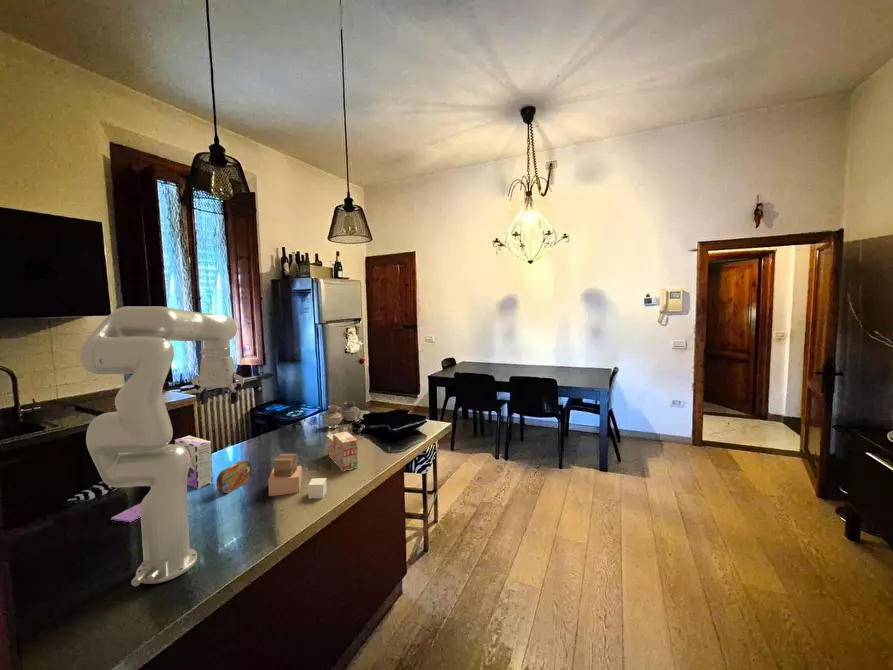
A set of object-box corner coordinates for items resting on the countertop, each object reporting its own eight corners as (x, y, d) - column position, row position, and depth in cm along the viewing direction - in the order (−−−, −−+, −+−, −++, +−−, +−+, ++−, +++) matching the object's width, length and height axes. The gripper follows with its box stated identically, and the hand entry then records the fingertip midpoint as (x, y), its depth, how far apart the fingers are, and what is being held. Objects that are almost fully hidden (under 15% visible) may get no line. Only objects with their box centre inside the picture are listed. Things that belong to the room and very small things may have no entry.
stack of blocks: (326, 455, 172) (325, 428, 171) (340, 452, 176) (339, 425, 175) (343, 472, 155) (342, 442, 154) (358, 468, 158) (357, 439, 157)
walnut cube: (291, 476, 137) (290, 460, 137) (274, 476, 137) (273, 460, 137) (297, 469, 143) (296, 453, 143) (280, 469, 143) (280, 454, 143)
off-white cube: (323, 498, 133) (322, 484, 133) (308, 498, 133) (308, 484, 133) (326, 491, 138) (326, 478, 138) (312, 492, 138) (312, 478, 138)
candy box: (175, 481, 146) (173, 439, 145) (192, 475, 151) (190, 434, 150) (197, 489, 140) (195, 445, 138) (213, 483, 145) (211, 440, 144)
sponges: (166, 505, 130) (166, 499, 130) (129, 526, 117) (129, 520, 117) (149, 503, 131) (149, 497, 131) (110, 523, 119) (110, 517, 119)
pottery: (319, 429, 209) (318, 407, 208) (347, 417, 232) (347, 397, 231) (335, 431, 205) (335, 409, 204) (363, 419, 228) (363, 399, 227)
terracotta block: (299, 493, 138) (298, 476, 137) (268, 496, 135) (268, 480, 134) (302, 480, 147) (301, 465, 147) (273, 484, 145) (273, 468, 144)
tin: (222, 497, 134) (221, 474, 133) (215, 496, 134) (213, 473, 134) (252, 478, 149) (251, 457, 148) (245, 478, 149) (244, 456, 149)
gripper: (183, 355, 126) (186, 406, 127) (238, 354, 127) (240, 405, 128) (197, 352, 133) (199, 401, 134) (248, 351, 134) (250, 400, 135)
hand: (219, 403), depth 131 cm, fingers open, 9 cm apart
